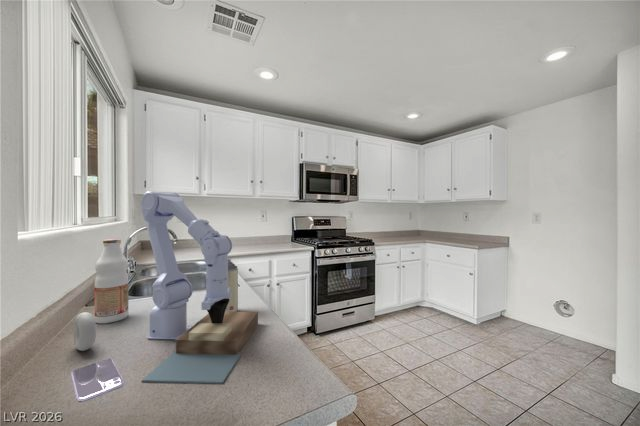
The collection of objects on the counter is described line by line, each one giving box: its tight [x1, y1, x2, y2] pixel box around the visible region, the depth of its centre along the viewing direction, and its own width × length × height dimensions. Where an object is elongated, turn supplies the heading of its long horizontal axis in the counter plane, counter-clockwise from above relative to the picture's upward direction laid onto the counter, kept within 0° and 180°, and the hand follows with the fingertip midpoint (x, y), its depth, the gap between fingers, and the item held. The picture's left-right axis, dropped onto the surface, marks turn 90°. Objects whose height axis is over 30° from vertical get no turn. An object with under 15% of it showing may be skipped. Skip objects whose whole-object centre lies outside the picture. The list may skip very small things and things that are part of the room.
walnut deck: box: [175, 311, 259, 355], centre depth 78 cm, size 16×20×4 cm
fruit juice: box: [94, 238, 129, 324], centre depth 93 cm, size 9×9×28 cm
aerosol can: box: [224, 258, 239, 312], centre depth 98 cm, size 7×7×20 cm
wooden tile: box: [189, 323, 232, 341], centre depth 71 cm, size 9×6×2 cm, turn 88°
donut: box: [72, 311, 97, 352], centre depth 72 cm, size 10×4×10 cm, turn 54°
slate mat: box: [141, 351, 242, 385], centre depth 63 cm, size 18×12×1 cm, turn 88°
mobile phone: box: [70, 358, 125, 402], centre depth 59 cm, size 8×1×15 cm
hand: (217, 326), depth 75 cm, fingers closed
